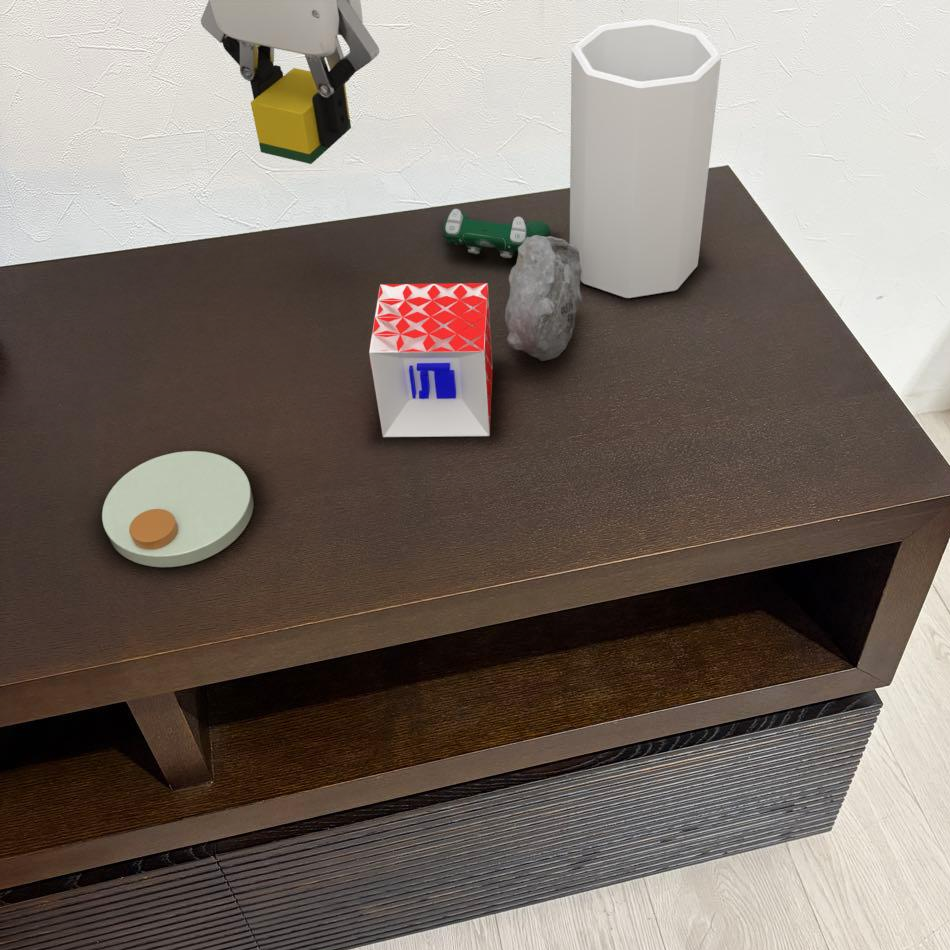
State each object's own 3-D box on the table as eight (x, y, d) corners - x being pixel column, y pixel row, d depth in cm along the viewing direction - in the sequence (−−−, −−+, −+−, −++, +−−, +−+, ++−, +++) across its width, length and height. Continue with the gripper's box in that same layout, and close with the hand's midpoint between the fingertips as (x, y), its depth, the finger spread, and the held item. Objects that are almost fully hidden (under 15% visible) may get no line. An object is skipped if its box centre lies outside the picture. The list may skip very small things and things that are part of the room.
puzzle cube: (492, 367, 86) (488, 283, 80) (489, 436, 81) (484, 351, 75) (391, 368, 86) (378, 284, 80) (381, 437, 81) (367, 352, 75)
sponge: (311, 164, 83) (302, 113, 80) (260, 152, 84) (250, 102, 81) (351, 128, 86) (344, 78, 83) (302, 116, 87) (293, 67, 84)
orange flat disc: (123, 541, 73) (119, 533, 72) (151, 511, 75) (147, 503, 74) (159, 555, 72) (156, 547, 71) (187, 524, 74) (184, 516, 73)
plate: (76, 540, 74) (70, 528, 74) (166, 447, 81) (162, 435, 80) (197, 586, 72) (192, 574, 71) (281, 486, 78) (278, 474, 77)
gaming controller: (447, 255, 100) (429, 241, 94) (454, 212, 99) (436, 196, 93) (546, 268, 98) (534, 254, 92) (553, 225, 98) (541, 209, 92)
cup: (700, 230, 99) (724, 21, 85) (694, 305, 91) (718, 89, 77) (577, 222, 100) (580, 13, 86) (561, 294, 92) (561, 80, 79)
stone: (598, 382, 85) (602, 273, 77) (511, 391, 84) (507, 282, 77) (579, 310, 91) (581, 202, 83) (497, 318, 90) (492, 210, 83)
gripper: (402, -136, 71) (425, 131, 84) (184, -168, 75) (240, 90, 89) (342, -97, 66) (377, 178, 80) (115, -134, 71) (184, 132, 84)
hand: (304, 129), depth 84 cm, fingers closed on sponge, 4 cm apart
